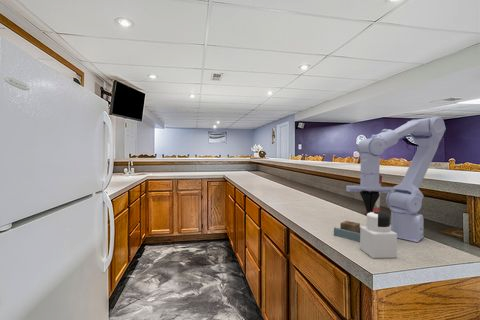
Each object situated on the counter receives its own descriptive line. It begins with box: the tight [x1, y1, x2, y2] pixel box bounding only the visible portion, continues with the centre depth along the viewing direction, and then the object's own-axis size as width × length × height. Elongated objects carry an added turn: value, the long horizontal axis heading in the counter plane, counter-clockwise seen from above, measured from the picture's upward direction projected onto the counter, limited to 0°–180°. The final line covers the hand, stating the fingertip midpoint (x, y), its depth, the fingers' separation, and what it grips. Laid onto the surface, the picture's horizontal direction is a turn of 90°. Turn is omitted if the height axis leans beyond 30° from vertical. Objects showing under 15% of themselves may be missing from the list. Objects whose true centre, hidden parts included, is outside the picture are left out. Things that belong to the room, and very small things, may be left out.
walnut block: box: [339, 220, 361, 233], centre depth 90 cm, size 5×4×4 cm
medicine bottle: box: [359, 211, 398, 259], centre depth 74 cm, size 7×7×12 cm
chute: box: [333, 227, 360, 243], centre depth 90 cm, size 10×8×2 cm
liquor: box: [364, 173, 383, 215], centre depth 119 cm, size 7×7×28 cm
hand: (369, 213), depth 85 cm, fingers closed
